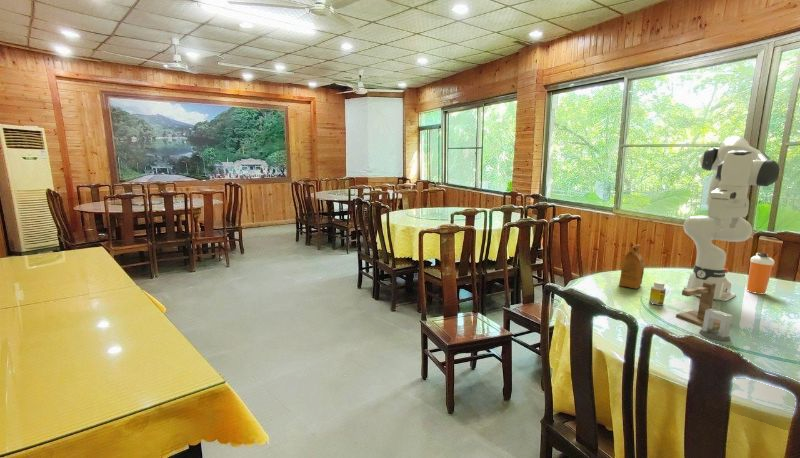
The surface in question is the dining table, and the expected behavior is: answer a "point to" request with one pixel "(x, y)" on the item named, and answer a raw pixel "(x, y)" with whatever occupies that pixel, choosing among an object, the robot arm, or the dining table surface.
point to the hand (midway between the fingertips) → (725, 229)
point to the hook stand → (705, 303)
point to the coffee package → (632, 269)
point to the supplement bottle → (657, 293)
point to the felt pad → (713, 335)
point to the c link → (721, 316)
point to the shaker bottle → (759, 272)
